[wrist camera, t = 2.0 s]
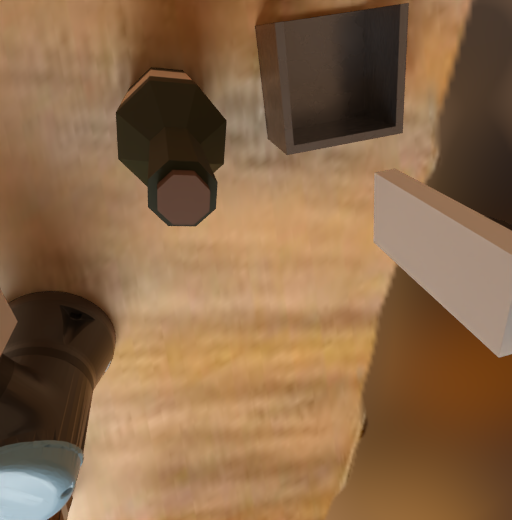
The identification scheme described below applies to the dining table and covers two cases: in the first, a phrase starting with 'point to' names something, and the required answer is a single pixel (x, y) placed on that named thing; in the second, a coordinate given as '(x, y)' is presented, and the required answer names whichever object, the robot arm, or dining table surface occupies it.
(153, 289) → the dining table surface
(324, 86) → the bottle rest
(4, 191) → the dining table surface
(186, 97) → the wine bottle
